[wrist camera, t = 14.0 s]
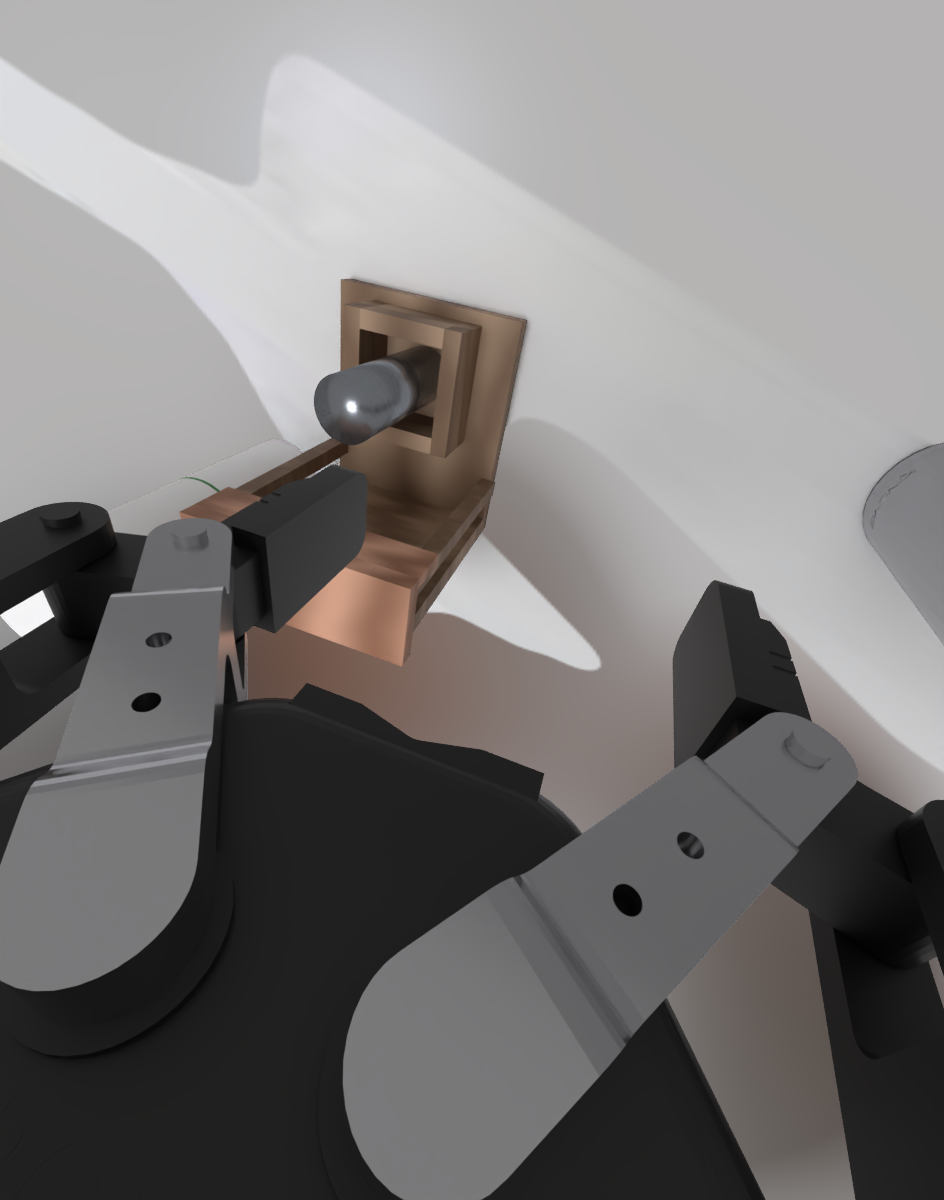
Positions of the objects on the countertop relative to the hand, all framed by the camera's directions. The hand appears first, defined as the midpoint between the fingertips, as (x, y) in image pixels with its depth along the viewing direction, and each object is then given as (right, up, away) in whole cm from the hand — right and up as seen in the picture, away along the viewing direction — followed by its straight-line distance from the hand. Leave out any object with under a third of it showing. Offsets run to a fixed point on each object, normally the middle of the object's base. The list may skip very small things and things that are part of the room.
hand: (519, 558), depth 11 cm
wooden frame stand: (-5, +14, +30) cm, 34 cm away
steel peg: (-5, +16, +27) cm, 32 cm away
